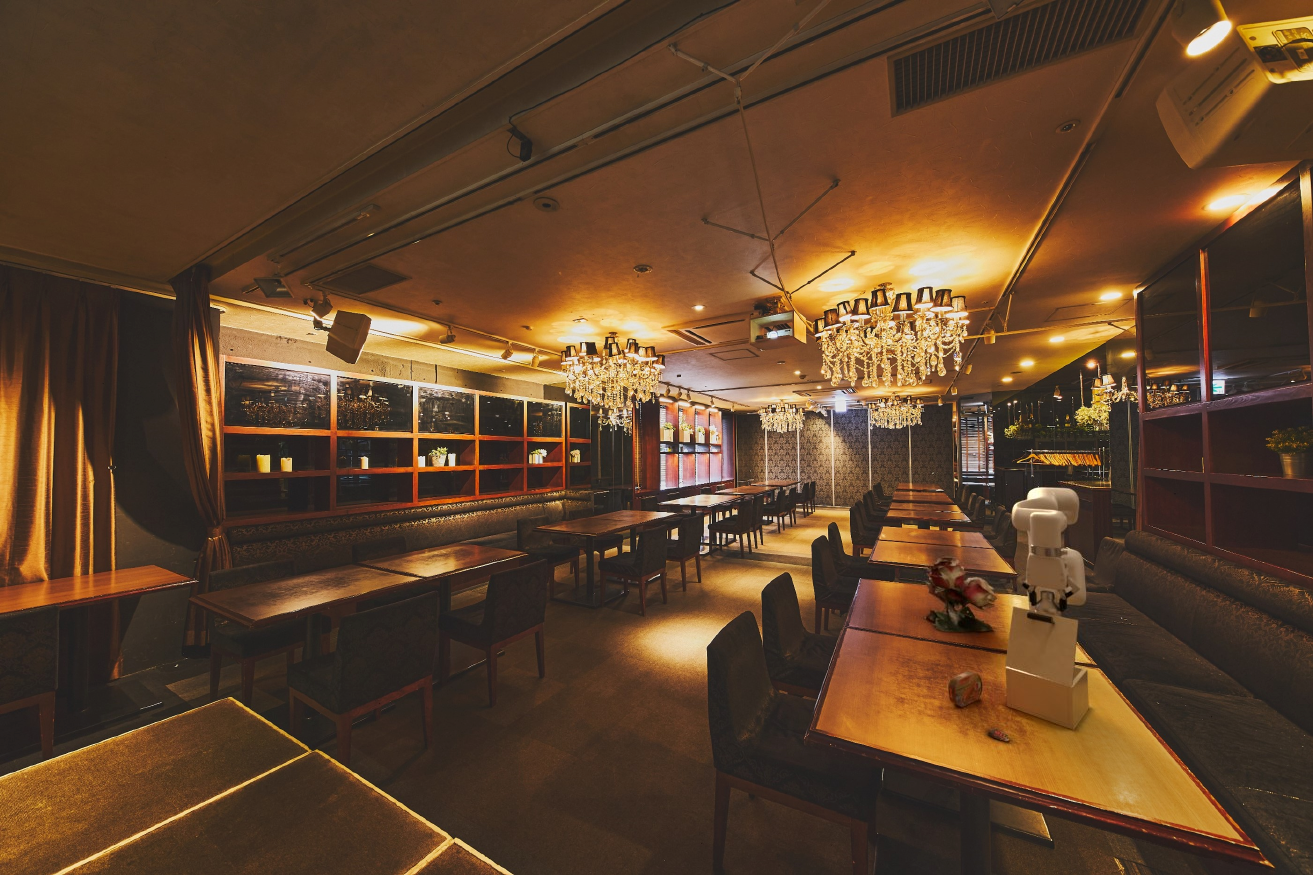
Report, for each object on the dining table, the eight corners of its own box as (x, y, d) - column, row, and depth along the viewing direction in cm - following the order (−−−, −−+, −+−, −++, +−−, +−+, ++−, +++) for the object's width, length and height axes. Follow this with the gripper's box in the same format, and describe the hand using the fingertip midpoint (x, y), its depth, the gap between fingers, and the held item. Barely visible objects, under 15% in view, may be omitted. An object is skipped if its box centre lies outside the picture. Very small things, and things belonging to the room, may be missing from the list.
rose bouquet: (1007, 632, 204) (1004, 563, 205) (940, 632, 205) (938, 563, 206) (968, 611, 230) (966, 550, 231) (909, 612, 230) (907, 551, 231)
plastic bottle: (1068, 660, 145) (1066, 595, 145) (1043, 658, 146) (1041, 594, 146) (1055, 651, 151) (1053, 589, 151) (1031, 650, 152) (1029, 588, 153)
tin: (956, 709, 145) (955, 682, 145) (946, 705, 147) (945, 678, 148) (984, 697, 152) (983, 671, 152) (973, 693, 154) (972, 667, 155)
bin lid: (1013, 607, 153) (1008, 602, 150) (1078, 620, 140) (1074, 615, 137) (1005, 666, 147) (1000, 662, 144) (1072, 686, 134) (1067, 682, 132)
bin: (1025, 687, 157) (1024, 651, 158) (1088, 708, 145) (1087, 669, 145) (1006, 705, 147) (1005, 667, 147) (1073, 729, 134) (1072, 687, 134)
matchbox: (986, 734, 132) (986, 733, 132) (992, 728, 135) (992, 726, 135) (1006, 743, 128) (1006, 741, 128) (1012, 735, 131) (1012, 734, 131)
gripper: (1085, 554, 145) (1087, 612, 144) (1016, 545, 158) (1018, 598, 158) (1078, 558, 140) (1081, 618, 140) (1009, 548, 154) (1011, 603, 153)
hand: (1047, 607), depth 149 cm, fingers closed on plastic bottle, 6 cm apart
